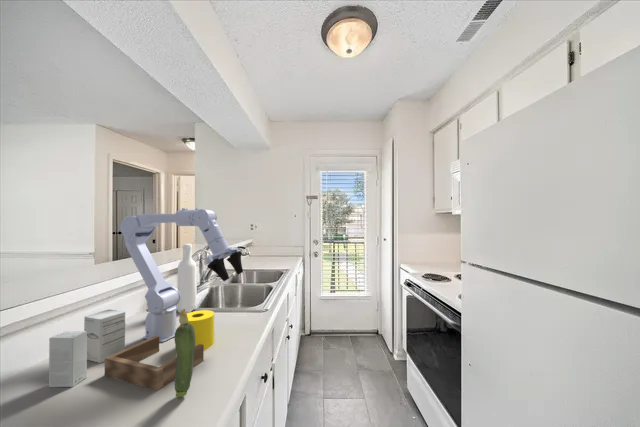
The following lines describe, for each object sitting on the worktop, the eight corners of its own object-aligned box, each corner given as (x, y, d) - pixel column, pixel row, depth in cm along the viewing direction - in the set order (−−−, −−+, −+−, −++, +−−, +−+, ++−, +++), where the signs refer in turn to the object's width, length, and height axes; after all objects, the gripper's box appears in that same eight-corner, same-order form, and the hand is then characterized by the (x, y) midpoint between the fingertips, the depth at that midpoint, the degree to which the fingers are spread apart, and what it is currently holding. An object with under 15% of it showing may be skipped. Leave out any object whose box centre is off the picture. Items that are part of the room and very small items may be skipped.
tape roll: (184, 339, 91) (184, 311, 91) (216, 336, 94) (216, 309, 94) (176, 353, 81) (176, 322, 82) (212, 349, 84) (212, 319, 84)
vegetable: (179, 389, 64) (179, 304, 65) (198, 388, 64) (198, 304, 65) (170, 401, 60) (171, 310, 60) (190, 400, 60) (191, 310, 61)
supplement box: (82, 359, 79) (83, 316, 79) (109, 348, 86) (110, 308, 86) (99, 364, 76) (99, 319, 76) (126, 352, 83) (126, 310, 83)
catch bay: (104, 375, 70) (104, 358, 70) (155, 350, 84) (155, 335, 84) (157, 390, 64) (157, 371, 64) (203, 360, 77) (203, 344, 77)
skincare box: (87, 377, 70) (88, 330, 70) (72, 387, 65) (72, 337, 66) (64, 377, 70) (65, 330, 70) (47, 387, 65) (48, 338, 66)
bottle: (174, 310, 121) (174, 244, 122) (192, 306, 127) (192, 243, 128) (181, 314, 116) (182, 245, 117) (199, 309, 122) (199, 243, 123)
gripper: (209, 239, 84) (228, 278, 83) (237, 232, 98) (254, 265, 97) (194, 249, 87) (212, 287, 85) (224, 241, 100) (240, 273, 99)
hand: (233, 276), depth 91 cm, fingers open, 7 cm apart
